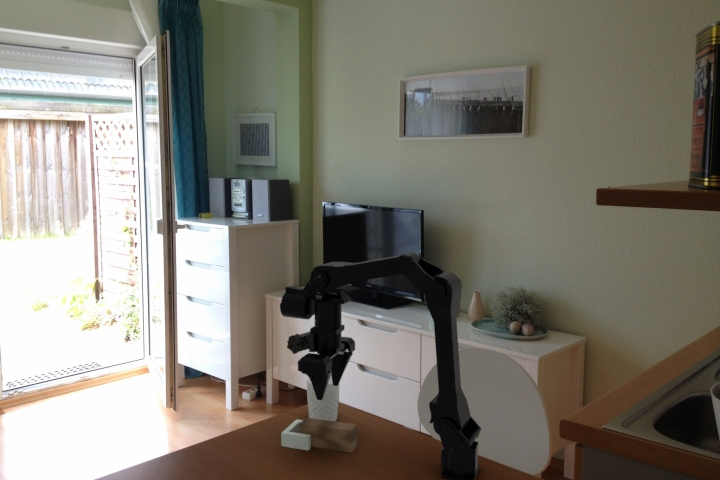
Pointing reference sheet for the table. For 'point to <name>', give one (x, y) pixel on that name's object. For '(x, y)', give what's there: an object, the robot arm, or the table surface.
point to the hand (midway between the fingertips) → (327, 392)
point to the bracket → (295, 437)
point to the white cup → (323, 402)
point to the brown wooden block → (330, 434)
